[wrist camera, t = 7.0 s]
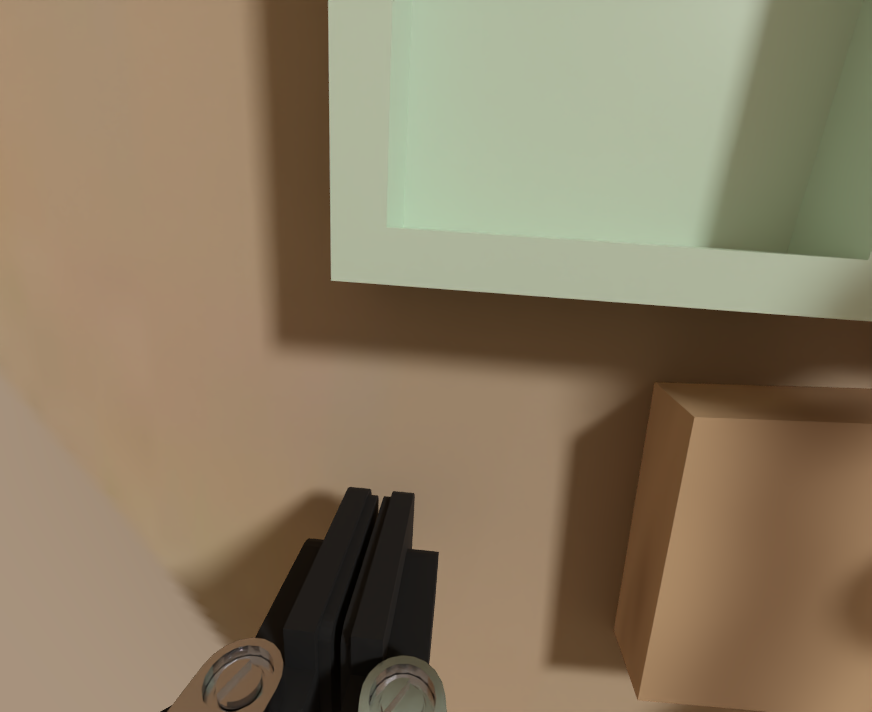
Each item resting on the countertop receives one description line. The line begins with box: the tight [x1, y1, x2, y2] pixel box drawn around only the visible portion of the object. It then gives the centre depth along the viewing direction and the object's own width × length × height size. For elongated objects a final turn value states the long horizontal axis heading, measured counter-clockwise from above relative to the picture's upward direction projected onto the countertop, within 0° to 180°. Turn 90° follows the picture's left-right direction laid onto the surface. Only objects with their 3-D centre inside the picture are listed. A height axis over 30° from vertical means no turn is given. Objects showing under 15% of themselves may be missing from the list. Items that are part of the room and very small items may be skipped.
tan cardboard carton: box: [614, 382, 872, 712], centre depth 11 cm, size 6×8×2 cm
